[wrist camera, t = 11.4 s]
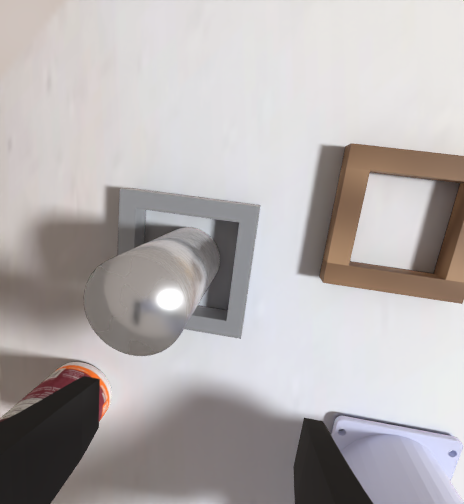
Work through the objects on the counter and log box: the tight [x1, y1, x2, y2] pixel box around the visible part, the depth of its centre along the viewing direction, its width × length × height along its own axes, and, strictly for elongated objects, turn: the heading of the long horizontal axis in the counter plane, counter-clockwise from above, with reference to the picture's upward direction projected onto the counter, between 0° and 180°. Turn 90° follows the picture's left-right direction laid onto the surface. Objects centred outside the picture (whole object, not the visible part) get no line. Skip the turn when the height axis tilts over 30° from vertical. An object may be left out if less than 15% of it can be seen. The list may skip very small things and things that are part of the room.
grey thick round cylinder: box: [84, 227, 220, 356], centre depth 15 cm, size 4×4×8 cm
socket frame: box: [319, 144, 464, 304], centre depth 16 cm, size 8×8×1 cm
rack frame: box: [117, 188, 260, 339], centre depth 18 cm, size 8×8×2 cm
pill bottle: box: [0, 362, 112, 422], centre depth 18 cm, size 5×5×8 cm
